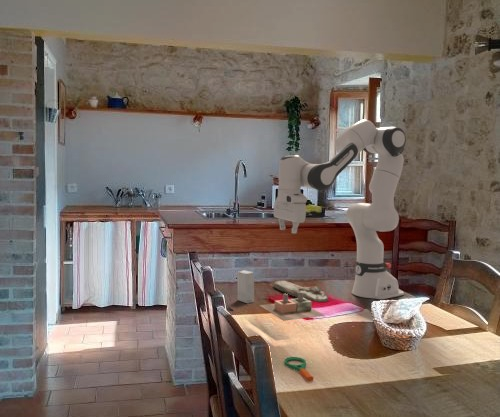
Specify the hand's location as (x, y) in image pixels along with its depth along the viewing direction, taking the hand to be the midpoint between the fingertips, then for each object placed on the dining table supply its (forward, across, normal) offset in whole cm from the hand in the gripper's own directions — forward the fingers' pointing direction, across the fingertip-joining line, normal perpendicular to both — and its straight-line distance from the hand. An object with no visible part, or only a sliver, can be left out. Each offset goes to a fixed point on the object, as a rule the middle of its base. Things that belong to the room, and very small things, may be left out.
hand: (288, 231), depth 210 cm
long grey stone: (+30, -10, +11) cm, 33 cm away
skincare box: (+29, -9, -14) cm, 34 cm away
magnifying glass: (+30, +59, -27) cm, 72 cm away
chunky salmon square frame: (+28, +12, -7) cm, 31 cm away
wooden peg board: (+29, +13, -5) cm, 32 cm away
